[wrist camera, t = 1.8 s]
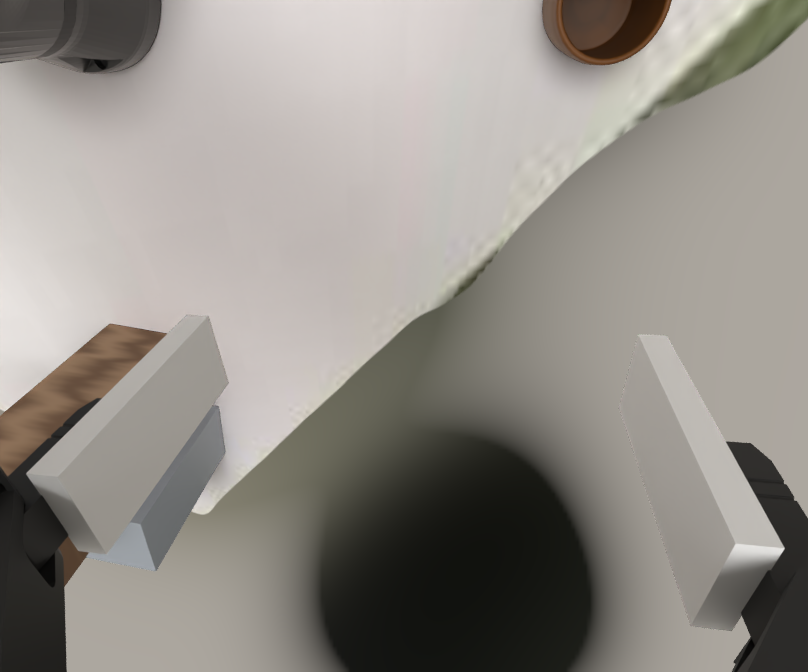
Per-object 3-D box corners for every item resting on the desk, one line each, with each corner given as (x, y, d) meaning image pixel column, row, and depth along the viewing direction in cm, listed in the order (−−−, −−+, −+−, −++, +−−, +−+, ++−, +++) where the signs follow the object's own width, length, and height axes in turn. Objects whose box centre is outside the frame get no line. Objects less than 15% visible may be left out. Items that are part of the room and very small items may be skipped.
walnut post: (125, 380, 72) (-63, 574, 47) (109, 323, 66) (-114, 511, 41) (203, 394, 71) (55, 598, 46) (194, 338, 65) (20, 538, 41)
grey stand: (141, 436, 78) (50, 550, 62) (128, 390, 73) (24, 501, 56) (225, 452, 78) (155, 571, 61) (218, 406, 72) (140, 524, 56)
